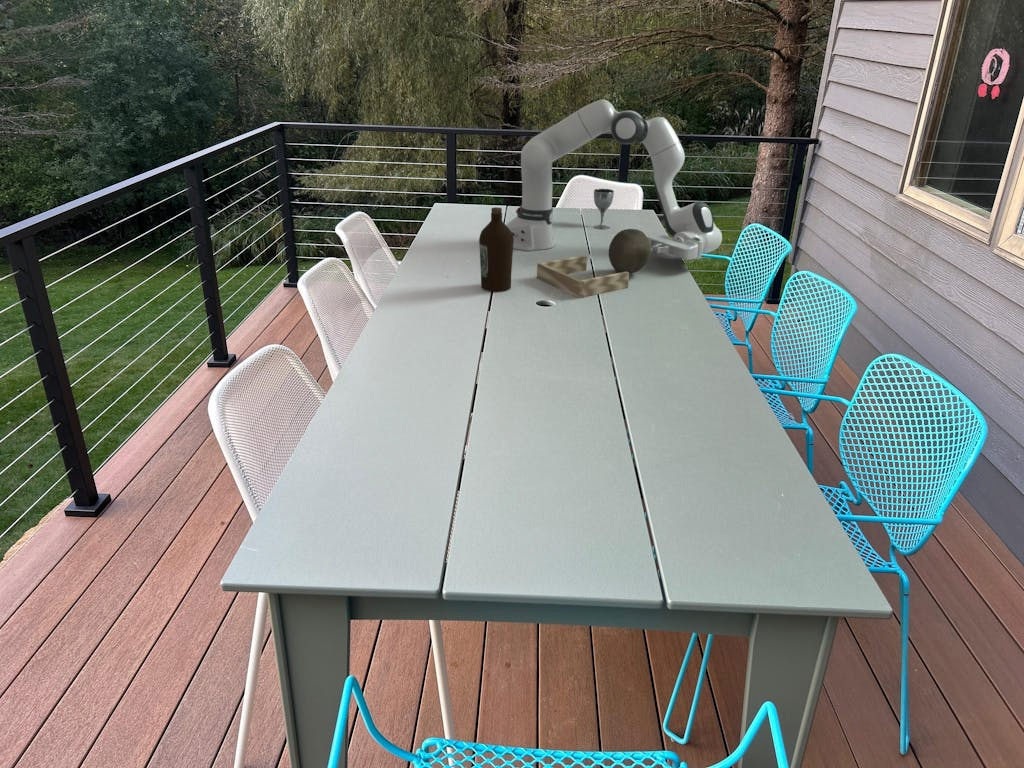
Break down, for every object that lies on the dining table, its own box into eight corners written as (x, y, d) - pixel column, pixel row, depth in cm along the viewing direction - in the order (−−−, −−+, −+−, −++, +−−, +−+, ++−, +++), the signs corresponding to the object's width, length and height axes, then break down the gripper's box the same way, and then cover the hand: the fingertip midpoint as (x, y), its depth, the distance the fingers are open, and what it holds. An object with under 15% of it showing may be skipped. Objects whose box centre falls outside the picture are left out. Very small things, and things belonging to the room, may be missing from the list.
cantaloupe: (603, 277, 254) (606, 233, 247) (611, 266, 266) (614, 223, 259) (645, 282, 250) (650, 236, 244) (651, 270, 262) (656, 226, 256)
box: (583, 269, 262) (584, 255, 259) (627, 287, 244) (629, 272, 242) (536, 278, 252) (537, 263, 250) (579, 297, 234) (580, 282, 232)
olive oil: (507, 281, 248) (508, 203, 238) (516, 291, 239) (518, 211, 229) (475, 283, 245) (475, 205, 235) (484, 294, 236) (484, 213, 226)
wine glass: (611, 229, 312) (614, 192, 306) (592, 229, 312) (594, 192, 306) (610, 225, 320) (612, 188, 313) (591, 224, 320) (593, 188, 313)
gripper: (664, 229, 274) (635, 234, 267) (706, 242, 259) (676, 247, 252) (662, 246, 277) (633, 251, 270) (704, 260, 261) (674, 266, 254)
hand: (654, 249), depth 261 cm, fingers closed
